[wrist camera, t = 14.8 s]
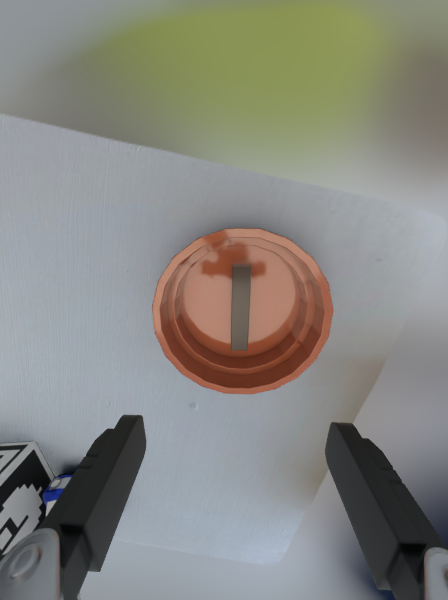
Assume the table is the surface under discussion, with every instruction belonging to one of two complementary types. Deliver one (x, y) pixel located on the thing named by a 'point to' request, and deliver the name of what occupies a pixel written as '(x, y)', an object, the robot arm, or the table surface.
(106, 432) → the robot arm
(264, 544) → the table surface
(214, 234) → the bowl
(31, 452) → the block
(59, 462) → the table surface
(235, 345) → the stick
